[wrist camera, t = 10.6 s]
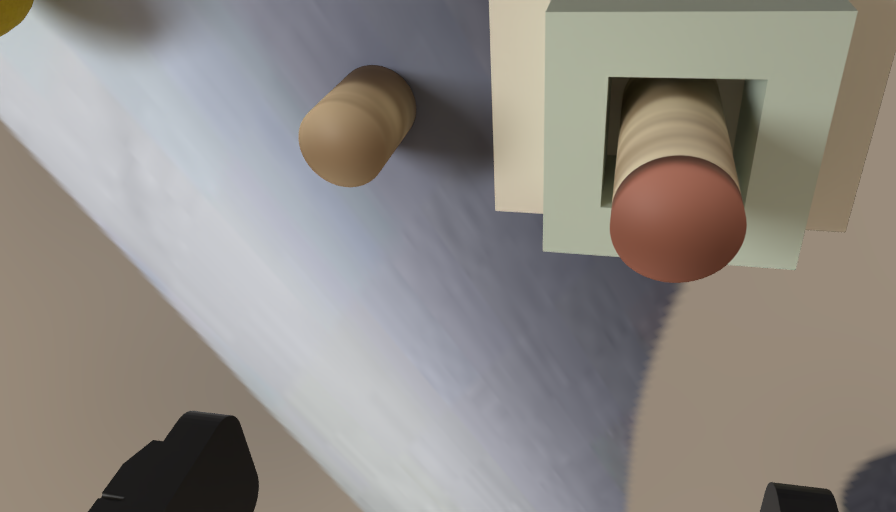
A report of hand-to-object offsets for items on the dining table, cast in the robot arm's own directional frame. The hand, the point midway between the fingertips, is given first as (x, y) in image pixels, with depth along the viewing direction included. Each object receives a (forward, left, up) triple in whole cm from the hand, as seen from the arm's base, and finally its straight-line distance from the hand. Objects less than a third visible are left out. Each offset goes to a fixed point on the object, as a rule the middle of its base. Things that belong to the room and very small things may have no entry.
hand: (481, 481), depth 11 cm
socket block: (+3, +4, -25) cm, 25 cm away
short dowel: (+4, -10, -25) cm, 27 cm away
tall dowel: (+3, +3, -24) cm, 24 cm away
